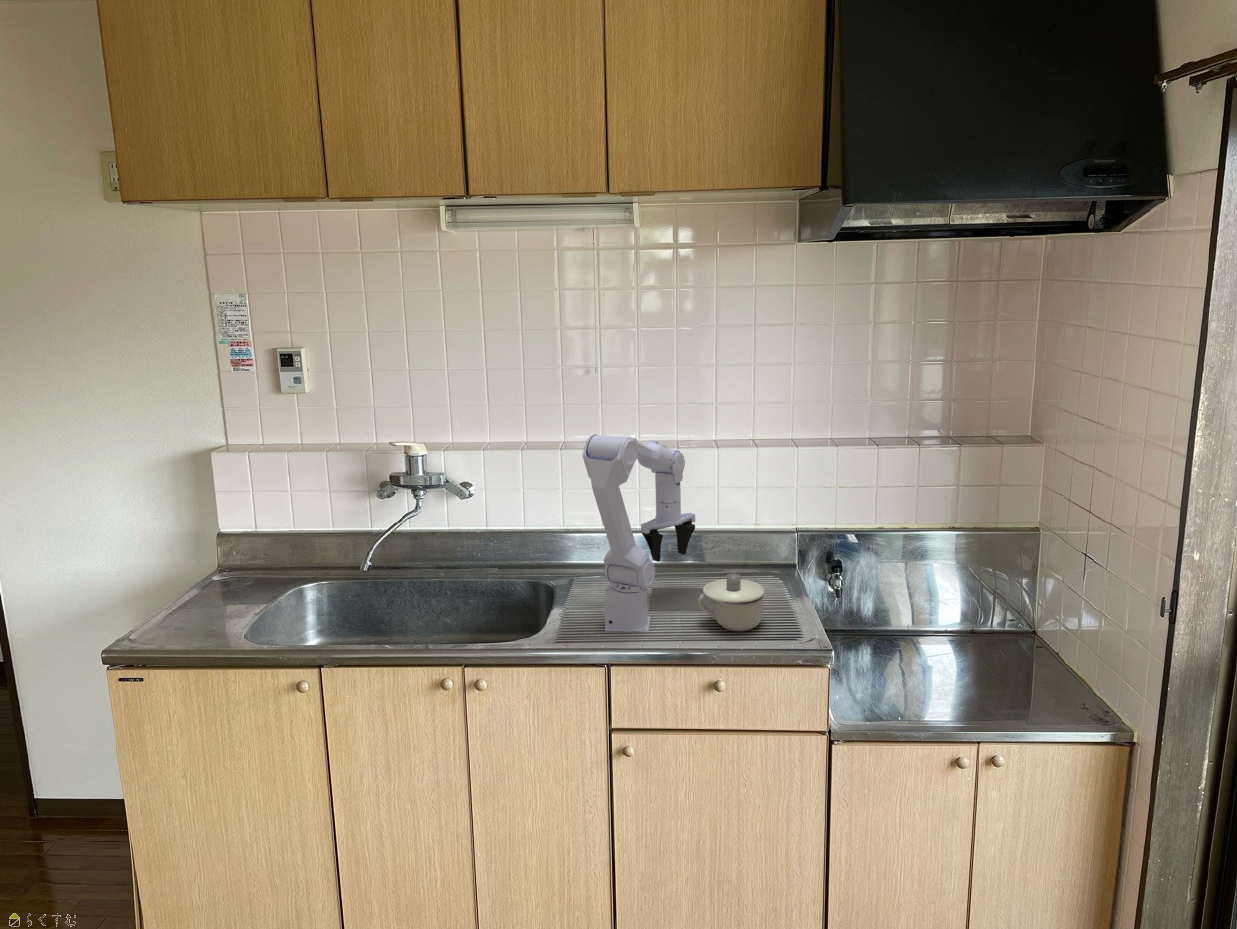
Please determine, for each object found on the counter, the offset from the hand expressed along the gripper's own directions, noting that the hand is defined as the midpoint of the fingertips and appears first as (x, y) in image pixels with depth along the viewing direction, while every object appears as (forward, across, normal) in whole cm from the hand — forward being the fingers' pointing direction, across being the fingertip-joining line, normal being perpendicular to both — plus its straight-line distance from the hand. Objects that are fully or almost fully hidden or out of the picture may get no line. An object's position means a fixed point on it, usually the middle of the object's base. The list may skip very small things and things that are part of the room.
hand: (669, 556), depth 214 cm
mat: (+10, -2, +3) cm, 11 cm away
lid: (+2, -1, +22) cm, 22 cm away
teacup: (+11, 0, +21) cm, 24 cm away
